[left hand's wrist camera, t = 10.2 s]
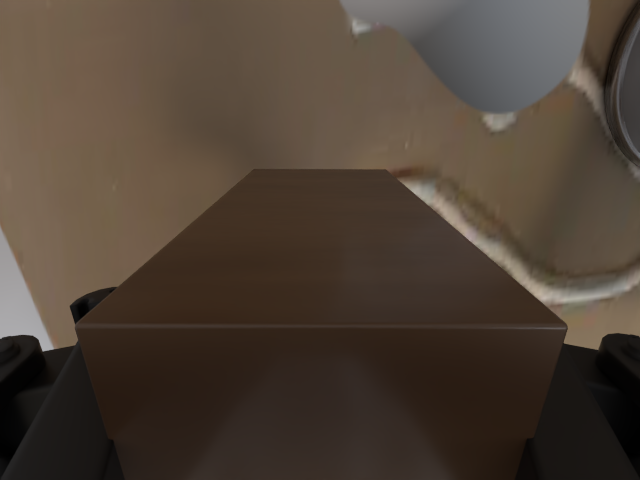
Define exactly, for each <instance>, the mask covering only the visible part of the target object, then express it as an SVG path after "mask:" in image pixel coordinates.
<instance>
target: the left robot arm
mask: <svg viewBox="0 0 640 480" xmlns="http://www.w3.org/2000/svg"><path fill="white" fill-rule="evenodd" d="M605 105H606V114H607V120H608V124H609V127H610V131H611V133H612V135H613V138H614V140H615V142H616V143H617V145H618V147H619V148H620V149H621V151H622V152H623V153H624V155H625V156H626V157H627V158H628V159H629V160H630V161H632V162H633V163H634V164H636V165H637V166H639V167H640V1H639V2H638V4H637V5H636V7H635V8H634V10H633V11H632V13H631V15H630V17H629V18H628V20H627V22H626V24H625V26H624V28H623V30H622V32H621V34H620V36H619V38H618V41H617V43H616V46H615V48H614V51H613V55H612V58H611V61H610V65H609V69H608V74H607V80H606V90H605ZM116 288H117V287H111V288H106V289H101V290H97V291H95V292H92V293H89V294H86V295H84V296H83V297H81V298H79V299H77V300H76V301H75V302H73V303H72V304H71V305H70V309H71V312H72V315H73V319H74V322H75V325H76V323H77V322H78V321H79V320H80V319H82V318H83V317H84V316H85V315H86V314H87V313H89V312H90V311H91V310H92V309H93V308H94V307H95V306H97V305H98V304H99V303H100V302H101V301H102V300H104V299H105V298H106V297H107V296H108V295H109V294H110V293H112V292H113V291H114V290H115V289H116ZM0 480H125V478H124V475H123V472H122V468H121V465H120V462H119V458H118V455H117V452H116V448H115V445H114V442H113V440H110V439H108V437H107V433H106V430H105V427H104V423H103V420H102V417H101V413H100V410H99V407H98V403H97V400H96V397H95V393H94V390H93V387H92V383H91V380H90V377H89V373H88V370H87V367H86V364H85V360H84V357H83V354H82V350H81V347H80V344H79V340H78V342H77V343H76V345H75V346H70V347H65V348H59V349H54V350H49V351H44V352H42V349H41V346H40V343H39V340H38V339H37V338H35V337H34V336H30V335H18V336H8V337H3V338H2V339H0ZM515 480H640V337H639V336H636V335H627V334H620V333H616V334H608V335H606V336H605V337H603V338H602V341H601V344H600V347H599V350H595V349H589V348H584V347H579V346H573V345H568V344H564V343H563V345H562V348H561V352H560V355H559V358H558V361H557V365H556V368H555V371H554V374H553V377H552V381H551V384H550V387H549V390H548V394H547V397H546V400H545V403H544V406H543V410H542V413H541V416H540V419H539V423H538V426H537V429H536V432H535V435H534V437H533V438H527V440H526V444H525V447H524V450H523V454H522V457H521V460H520V464H519V467H518V471H517V474H516V477H515Z"/></svg>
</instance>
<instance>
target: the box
mask: <svg viewBox="0 0 640 480" xmlns="http://www.w3.org/2000/svg"><path fill="white" fill-rule="evenodd" d="M567 329H568V328H567V324H566V323H565V322H564V321H563V320H561V319H560V318H559V317H558V316H557V315H556V314H554V313H553V312H552V311H551V310H550V309H549V308H547V307H546V306H545V305H544V304H543V303H542V302H540V301H539V300H538V299H537V298H536V297H534V296H533V295H532V294H531V293H530V292H529V291H527V290H526V289H525V288H524V287H523V286H522V285H520V284H519V283H518V282H517V281H516V280H515V279H513V278H512V277H511V276H510V275H509V274H508V273H506V272H505V271H504V270H503V269H502V268H501V267H499V266H498V265H497V264H496V263H495V262H494V261H492V260H491V259H490V258H489V257H488V256H487V255H485V254H484V253H483V252H482V251H481V250H480V249H478V248H477V247H476V246H475V245H474V244H473V243H471V242H470V241H469V240H468V239H467V238H465V237H464V236H463V235H462V234H461V233H460V232H458V231H457V230H456V229H455V228H454V227H453V226H451V225H450V224H449V223H448V222H447V221H446V220H444V219H443V218H442V217H441V216H440V215H439V214H437V213H436V212H435V211H434V210H433V209H432V208H430V207H429V206H428V205H427V204H426V203H425V202H423V201H422V200H421V199H420V198H419V197H418V196H416V195H415V194H414V193H413V192H412V191H411V190H409V189H408V188H407V187H406V186H405V185H404V184H402V183H401V182H400V181H399V180H398V179H396V178H395V177H394V176H393V175H392V174H391V173H389V172H388V171H387V170H362V169H254V170H253V171H251V172H250V173H249V174H248V175H247V176H246V177H244V178H243V179H242V180H241V181H240V182H239V183H237V184H236V185H235V186H234V187H233V188H232V189H231V190H229V191H228V192H227V193H226V194H225V195H224V196H222V197H221V198H220V199H219V200H218V201H217V202H216V203H214V204H213V205H212V206H211V207H210V208H209V209H207V210H206V211H205V212H204V213H203V214H202V215H201V216H199V217H198V218H197V219H196V220H195V221H194V222H192V223H191V224H190V225H189V226H188V227H187V228H186V229H184V230H183V231H182V232H181V233H180V234H179V235H177V236H176V237H175V238H174V239H173V240H172V241H171V242H169V243H168V244H167V245H166V246H165V247H164V248H162V249H161V250H160V251H159V252H158V253H157V254H156V255H154V256H153V257H152V258H151V259H150V260H149V261H147V262H146V263H145V264H144V265H143V266H142V267H141V268H139V269H138V270H137V271H136V272H135V273H134V274H132V275H131V276H130V277H129V278H128V279H127V280H125V281H124V282H123V283H122V284H121V285H120V286H119V287H117V288H116V289H115V290H114V291H113V292H112V293H110V294H109V295H108V296H107V297H106V298H105V299H104V300H102V301H101V302H100V303H99V304H98V305H97V306H95V307H94V308H93V309H92V310H91V311H90V312H89V313H87V314H86V315H85V316H84V317H83V318H82V319H80V320H79V321H78V322H77V323H76V325H75V330H76V334H77V337H78V340H79V344H80V347H81V350H82V354H83V357H84V360H85V364H86V367H87V370H88V373H89V377H90V380H91V383H92V387H93V390H94V393H95V397H96V400H97V403H98V407H99V410H100V413H101V417H102V420H103V423H104V427H105V430H106V433H107V437H108V439H110V440H113V442H114V445H115V448H116V452H117V455H118V458H119V462H120V465H121V468H122V472H123V475H124V478H125V480H515V477H516V474H517V471H518V467H519V464H520V460H521V457H522V454H523V450H524V447H525V444H526V440H527V438H533V437H534V435H535V432H536V429H537V426H538V423H539V419H540V416H541V413H542V410H543V406H544V403H545V400H546V397H547V394H548V390H549V387H550V384H551V381H552V377H553V374H554V371H555V368H556V365H557V361H558V358H559V355H560V352H561V348H562V345H563V342H564V339H565V336H566V332H567Z"/></svg>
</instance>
